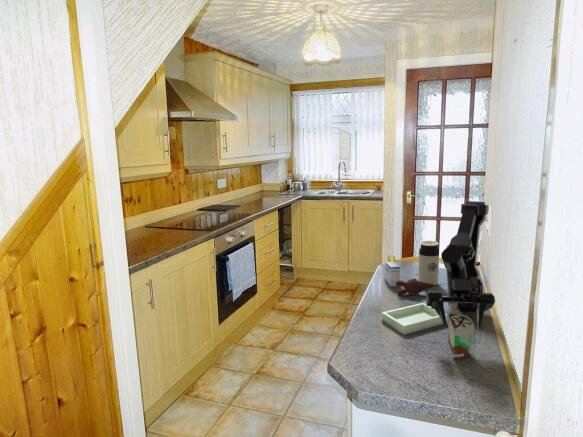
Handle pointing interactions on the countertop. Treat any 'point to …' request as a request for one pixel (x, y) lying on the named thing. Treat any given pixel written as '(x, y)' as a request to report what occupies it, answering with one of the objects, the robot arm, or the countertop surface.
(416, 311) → the tray
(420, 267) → the travel mug
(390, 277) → the medicine box
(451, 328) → the food container
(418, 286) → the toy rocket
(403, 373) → the countertop surface
